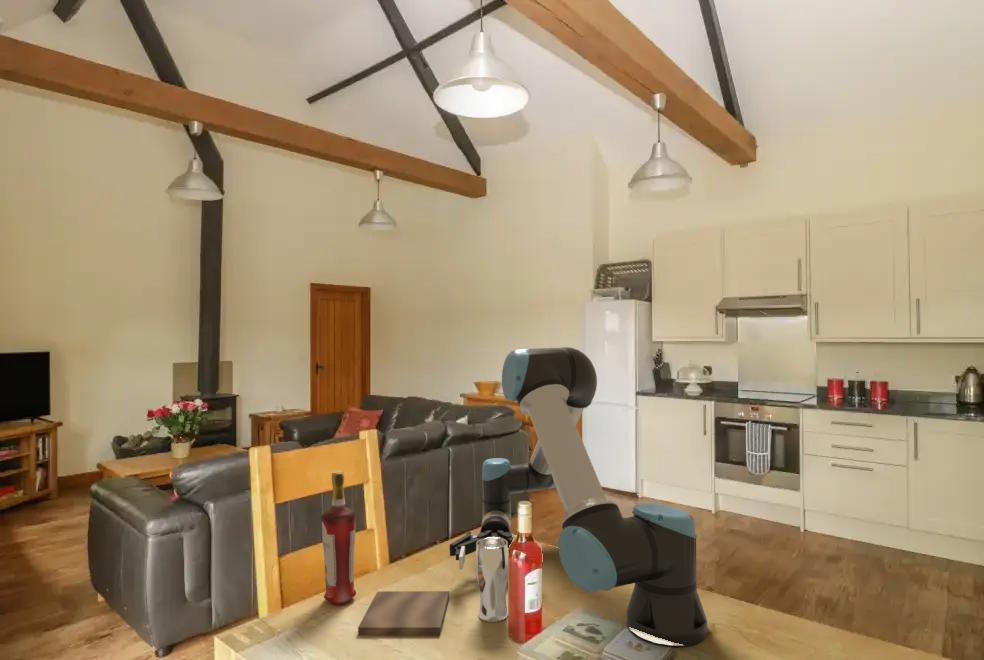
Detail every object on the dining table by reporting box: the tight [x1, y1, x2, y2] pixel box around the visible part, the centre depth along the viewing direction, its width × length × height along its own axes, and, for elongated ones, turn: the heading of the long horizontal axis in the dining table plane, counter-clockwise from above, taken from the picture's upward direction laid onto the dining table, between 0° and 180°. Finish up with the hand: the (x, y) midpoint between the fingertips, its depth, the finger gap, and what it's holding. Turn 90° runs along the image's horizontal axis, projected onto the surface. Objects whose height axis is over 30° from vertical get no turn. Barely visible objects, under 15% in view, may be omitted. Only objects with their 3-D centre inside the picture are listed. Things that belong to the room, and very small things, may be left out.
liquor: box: [321, 471, 357, 606], centre depth 130 cm, size 7×7×28 cm
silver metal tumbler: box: [475, 537, 510, 623], centre depth 122 cm, size 7×7×15 cm
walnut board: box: [357, 590, 450, 636], centre depth 122 cm, size 16×16×2 cm
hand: (492, 563), depth 128 cm, fingers open, 13 cm apart
